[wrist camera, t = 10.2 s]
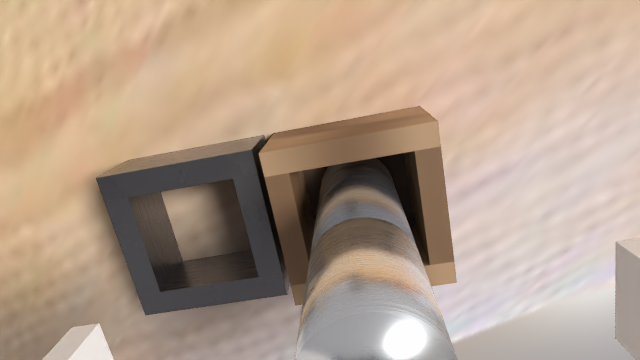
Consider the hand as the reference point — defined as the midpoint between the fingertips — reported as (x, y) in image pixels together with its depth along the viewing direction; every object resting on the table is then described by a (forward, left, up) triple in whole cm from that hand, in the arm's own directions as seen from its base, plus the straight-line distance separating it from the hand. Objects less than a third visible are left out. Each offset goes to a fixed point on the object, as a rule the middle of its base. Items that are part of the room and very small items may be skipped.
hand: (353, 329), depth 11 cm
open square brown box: (0, 0, -11) cm, 11 cm away
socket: (-7, 0, -11) cm, 13 cm away
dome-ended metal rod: (0, 0, -11) cm, 11 cm away
